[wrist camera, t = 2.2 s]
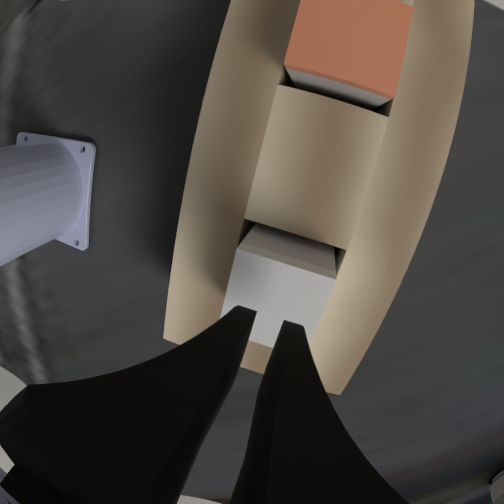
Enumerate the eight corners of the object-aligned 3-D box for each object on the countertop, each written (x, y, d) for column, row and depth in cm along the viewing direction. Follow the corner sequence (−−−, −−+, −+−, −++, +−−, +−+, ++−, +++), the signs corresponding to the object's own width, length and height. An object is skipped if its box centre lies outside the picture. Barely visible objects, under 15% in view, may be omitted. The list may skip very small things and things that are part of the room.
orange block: (295, 87, 13) (283, 63, 8) (313, 22, 11) (307, -25, 7) (371, 110, 12) (395, 96, 8) (387, 43, 11) (413, 6, 7)
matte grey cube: (245, 279, 17) (217, 329, 12) (262, 215, 15) (236, 248, 11) (310, 300, 16) (303, 357, 12) (332, 237, 15) (336, 279, 11)
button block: (195, 296, 21) (163, 338, 16) (272, -23, 13) (255, -67, 8) (339, 341, 20) (340, 395, 15) (440, 25, 12) (474, -5, 7)
